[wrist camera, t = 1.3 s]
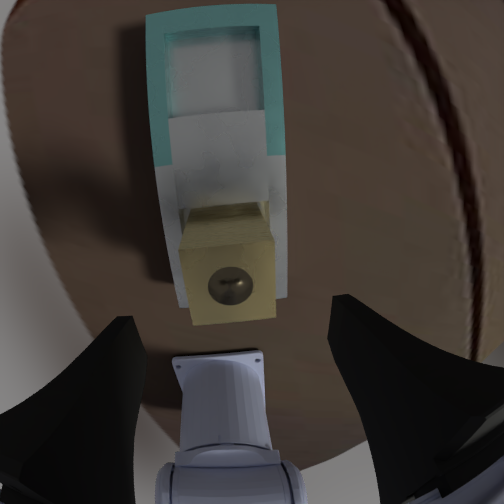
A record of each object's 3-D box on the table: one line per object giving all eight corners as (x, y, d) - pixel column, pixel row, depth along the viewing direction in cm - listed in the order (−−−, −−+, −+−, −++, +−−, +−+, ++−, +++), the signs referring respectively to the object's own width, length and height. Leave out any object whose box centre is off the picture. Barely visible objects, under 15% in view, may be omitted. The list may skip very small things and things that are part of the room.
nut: (259, 261, 19) (276, 317, 14) (199, 267, 19) (193, 325, 13) (256, 202, 17) (274, 240, 12) (190, 208, 17) (178, 250, 12)
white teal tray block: (279, 276, 21) (287, 297, 19) (183, 285, 21) (179, 308, 18) (267, 20, 13) (276, 4, 11) (155, 29, 13) (145, 15, 10)
